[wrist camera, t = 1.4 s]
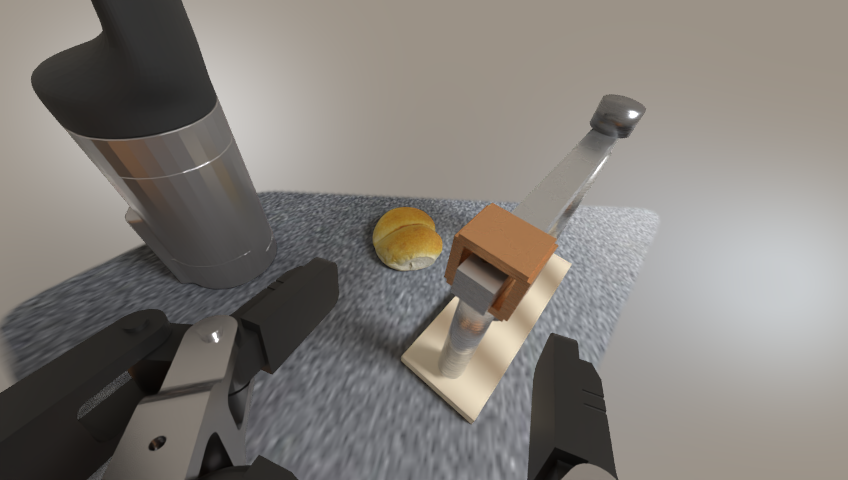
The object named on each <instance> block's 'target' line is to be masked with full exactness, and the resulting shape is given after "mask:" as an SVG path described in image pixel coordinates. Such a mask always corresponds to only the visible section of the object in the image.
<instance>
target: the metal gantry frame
mask: <svg viewBox="0 0 848 480" xmlns="http://www.w3.org/2000/svg"><path fill="white" fill-rule="evenodd" d="M645 110H646V108H645V107H644V106H643V105H642V104H641V103H639V102H637V101H635V100H633V99H631V98H628V97H624V96H620V95H606V96H603V98H602V100H601V102H600V103H599V105H598V107H597V109H596V111H595V113H594V115H593V117H592V119H591V121H590V125H591V127H592V128H593V129H592V130H591V131H590V132H589V133H588V134H587V135H586V136H585V137H584V138H583V139H582V140H581V141H580V142H579V143H578V144H577V145H576V146H575V148H573V149H572V151H571V152H570V153H569V154H568V155H567V156H566V157H565V158H564V159H563V160H562V161H561V162H560V163H559V164H558V165H557V166H556V167H555V168H554V169H553V170H552V171H551V172H550V173H549V174H548V175H547V176H546V177H545V179H543V180H542V181H541V182H540V183H539V185H538V186H537V187H536V188H535V189H534V190H533V191H532V192H531V193H530V194H529V195H528V196H527V197H526V198H525V199H524V200H523V201H522V202H521V203H520V204H519V205H518V206H517V207H516V208H515V209H514V210H513V211H512V212H511V214H513V215H515V216H517V217H519V218H520V219H522V220H524V221H526V222H527V223H529V224H531V225H533V226H535V227H536V228H538V229H540V230H542V231H544V232H545V233H547V234H549V235H551V236H553V237H554V238H556V239H557V240H558V238H559V237H560V235H561V233H562V232H563V230H564V229H565V227H566V225H567V224H568V222H569V221H570V219H571V218H572V216H573V214H574V213H575V211H576V210H577V208H578V206H579V205H580V203H581V202H582V200H583V199H584V197H585V195H586V194H587V192H588V191H589V189H590V187H591V186H592V184H593V183H594V181H595V180H596V178H597V176H598V175H599V173H600V172H601V170H602V168H603V167H604V165H605V164H606V162H607V161H608V159H609V157H610V156H611V150H612V149H613V147H614V146H615V144H616V142H617V141H618V139H619V138H627V137H629V136H630V134H631V133H632V131H633V130H634V128H635V126H636V125H637V123H638V122H639V120H640V119H641V117H642V116H643V114H644V113H645ZM557 240H556V241H557ZM555 243H556V242H555ZM512 279H513V278H512V277H510V276H509V275H507V274H506V273H504V272H503V271H501V270H499V269H498V268H496V267H495V266H493V265H492V264H490V263H489V262H487V261H486V260H484V259H483V258H481V257H479V256H478V255H476V254H475V253H472V254H471V255H470V256H469V257H468V258H467V259H466V260H465V261H464V262H463V263H462V264H461V265H460V266H459V267H458V268H457V270H456V274H455V277H454V281H453V284H452V287H451V291H450V292H451V293H452V294H454V295H455V296H456V297H458V298H459V299H460V300H462V301H463V302H464V303H466V304H467V305H469V306H470V307H471V308H473V309H474V310H475V311H477V312H478V313H480V314H481V315H482V316H484V315H485V314H486V312H487V311H488V310H489V308H490V307H491V306H492V305H493V303H494V302H495V301H496V299H497V298H498V297H499V296H500V294H501V293H502V292H503V290H504V289H505V288H506V286H507V285H508V284H509V283H510V281H511V280H512Z"/></svg>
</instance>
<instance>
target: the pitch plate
mask: <svg viewBox="0 0 848 480" xmlns="http://www.w3.org/2000/svg"><path fill="white" fill-rule="evenodd" d="M571 265H572V264H571V263H569V262H567V261H566V260H564V259H562V258H560V257H559V256H557V255H555V254H554V253H553V255H552V256H551V258H550V259H549V261H548V262H547V264H546V265H545V267H544V268H543V270H542V272H541V273H540V275H539V276H538V278H537V279H536V281H535V282H534V284H533V285H532V287H531V288H530V290H529V291H528V293H527V294H526V295H525V297H524V298H523V300H522V301H521V303H520V304H519V305H518V307H517V308H516V310H515V311H514V313H513V314H512V315H511V317H510V318H509V320H508V321H505V320H503V321H502V322H501V321H500V320H499V319H497V318H496V317H494V319H493V321H492V322H491V324H490V326H489V328H488V330H487V331H486V333H485V335H484V337H483V339H482V340H481V342H480V344H479V346H478V348H477V349H476V351H475V353H474V355H473V356H472V358H471V360H470V362H469V364H468V365H467V367H466V369H465V371H464V373H463V374H462V375H461V376H460V377H459V378H456V379H449V378H447V377H445V376H444V375H442V373H441V372H440V370H439V368H438V359H439V357H440V354H441V351H442V348H443V345H444V342H445V339H446V336H447V333H448V331H449V328H450V325H451V322H452V319H453V316H454V313H455V310H456V307H457V305H458V302H459V298H458V297H456V296H455V297H454V298H453V299H452V300H451V302H450V303H449V304H448V305H447V306H446V307H445V308H444V309H443V311H442V312H441V313H440V314H439V315H438V316H437V317H436V318H435V319H434V321H433V322H432V323H431V324H430V325H429V326H428V327H427V328H426V329H425V331H424V332H423V333H422V334H421V335H420V336H419V337H418V338H417V339H416V341H415V342H414V343H413V344H412V345H411V346H410V347H409V348H408V350H407V351H406V352H405V353H404V354H403V355H402V357H401V361H402V362H403V363H404V364H405V365H406V366H407V367H408V368H410V369H411V370H412V371H413V372H414V373H415V374H416V375H417V376H418V377H420V378H421V379H422V380H423V381H424V382H425V383H426V384H427V385H428V386H430V387H431V388H432V389H433V390H434V391H435V392H436V393H437V394H438V395H440V396H441V397H442V398H443V399H444V400H445V401H446V402H447V403H448V404H449V405H451V406H452V407H453V408H454V409H455V410H456V411H457V412H458V413H459V414H461V415H462V416H463V417H464V418H465V419H466V420H467V421H468V422H469V423H471V424H472V423H473V422H474V421H475V419H476V418H477V416H478V414H479V413H480V411H481V410H482V408H483V406H484V405H485V403H486V402H487V400H488V398H489V397H490V395H491V393H492V392H493V390H494V389H495V387H496V385H497V384H498V382H499V381H500V379H501V377H502V376H503V374H504V373H505V371H506V369H507V368H508V366H509V364H510V363H511V361H512V360H513V358H514V356H515V355H516V353H517V352H518V350H519V348H520V347H521V345H522V344H523V342H524V340H525V339H526V337H527V335H528V334H529V332H530V331H531V329H532V327H533V326H534V324H535V323H536V321H537V319H538V318H539V316H540V315H541V313H542V311H543V310H544V308H545V306H546V305H547V303H548V302H549V300H550V298H551V297H552V295H553V294H554V292H555V290H556V289H557V287H558V286H559V284H560V282H561V281H562V279H563V277H564V276H565V274H566V273H567V271H568V269H569V268H570V266H571Z"/></svg>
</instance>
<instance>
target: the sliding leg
mask: <svg viewBox="0 0 848 480" xmlns="http://www.w3.org/2000/svg"><path fill="white" fill-rule="evenodd" d="M556 240H557V239H556V238H554V237H553V236H551V235H549V234H547V233H545V232H544V231H542V230H540V229H538V228H536V227H535V226H533V225H531V224H529V223H527V222H526V221H524V220H522V219H520V218H519V217H517V216H515V215H513V214H511V213H510V212H508V211H506V210H504V209H502V208H501V207H499V206H497V205H495V204H494V203H491V204H490V205H489V206H488V205H487V206H486V207H485V208H484V209H483V210H482V211H481V212H480V213H478V214H477V215H476V216H475V217H474V218H473V219H472V220H471V221H470V222H469V223H468V224H466V225H465V226H464V227H463V228H462V229H461V230H460V231H459V232H458V233H457V234H456V235H455V236H454V240H453V244H452V248H451V252H450V256H449V260H448V264H447V268H446V272H445V276H444V277H445V278H447V281H446V282H447V283H448V284H450V285H451V286H452V284H453V281H454V277H455V274H456V270H457V268H458V267H459V266H460V265H461V264H462V263H463V262H464V261H465V260H466V259H467V258H468V257H469V256H470V255H471V254H472V253H475V254H476V255H478V256H479V257H481V258H483V259H484V260H486V261H487V262H489V263H490V264H492V265H493V266H495V267H496V268H498V269H499V270H501V271H503V272H504V273H506V274H507V275H509V276H510V277H512V278H513V279H512V280H511V281H510V283H509V284H508V285H507V286H506V288H505V289H504V290H503V292H502V293H501V294H500V296H499V297H498V298H497V299H496V301H495V302H494V303H493V305H492V306H491V307H490V308H489V310H488V311H487V312H486V314H485V315H484V316H482V315H481V314H480V313H478V312H477V311H475V310H474V309H473V308H471V307H470V306H469V305H467V304H466V303H464V302H463V301H462V300H460V299H459V302H458V305H457V307H456V310H455V313H454V316H453V319H452V322H451V325H450V328H449V331H448V333H447V336H446V339H445V342H444V345H443V348H442V351H441V354H440V357H439V359H438V368H439V370H440V372H441V373H442V375H444V376H445V377H447V378H449V379H456V378H459V377H460V376H461V375H462V374H463V373H464V371H465V369H466V367H467V365H468V364H469V362H470V360H471V358H472V356H473V355H474V353H475V351H476V349H477V348H478V346H479V344H480V342H481V340H482V339H483V337H484V335H485V333H486V331H487V330H488V328H489V326H490V324H491V322H492V321H493V319H494V317H496V318H497V319H499V320H500V321H501V322H502V321H503V320H505V321H508V320H509V318H510V317H511V315H512V314H513V313H514V311H515V310H516V308H517V307H518V305H519V304H520V303H521V301H522V300H523V298H524V297H525V295H526V294H527V293H528V291H529V290H530V288H531V287H532V285H533V284H534V282H535V281H536V279H537V278H538V276H539V275H540V273H541V272H542V270H543V268H544V267H545V265H546V264H547V262H548V261H549V259H550V258H551V256H552V255H553V253H554V252H555V250H556V248H557V247H558V245H557V244H555V242H556Z"/></svg>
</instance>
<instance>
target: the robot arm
mask: <svg viewBox="0 0 848 480" xmlns="http://www.w3.org/2000/svg"><path fill="white" fill-rule="evenodd" d="M91 1H92V4H93V6H94V8H95V10H96V12H97V15H98V17H99V19H100V22H101V25H102V29H103V31H102V33H101V34H100V35H99V36H97V37H96V38H94V39H93V40H91V41H88V42H85V43H83V44H80V45H77V46H74V47H72V48H69V49H67V50H64V51H62V52H60V53H57V54H56V55H53V56H52V57H50V58H48V59H46V60H45V61H43V62H42V63H41V64H40V65H39V66H38V67H37V68H36V69H35V70H34V71H33V74H32V76H31V83H32V86H33V89H34V91H35V93H36V94H37V96H38V97H39V99H40V100H41V101H42V103H43V104H44V105H45V106H46V108H47V109H48V110H49V111H50V112H51V114H52V115H53V116H54V117H55V118H56V120H58V122H59V123H60V124H61V125H62V126H63V127H64V128H65V130H66V131H67V132H68V133H69V134H70V136H71V137H72V138H73V139H74V140H75V142H76V143H77V144H78V145H79V146H80V148H81V149H82V150H83V151H84V152H85V153H86V155H87V156H88V157H89V158H90V159H91V161H92V162H93V163H94V164H95V165H96V166H97V167H98V169H99V170H100V171H101V172H102V173H103V175H104V176H105V177H106V178H107V179H108V181H109V182H110V183H111V184H112V185H113V186H114V188H115V189H116V190H117V191H118V192H119V194H120V195H121V196H122V197H123V198H124V200H125V201H126V202H127V203H128V205H129V206H130V207H129V209H128V211H127V213H126V215H125V219H126V221H127V223H128V224H129V225H130V226H131V227H132V228H133V229H134V231H136V233H137V234H138V235H139V236H140V237H141V238H142V239H143V241H144V242H145V243H146V244H147V245H148V246H149V247H150V248H151V249H152V251H153V252H154V253H155V254H156V255H157V256H158V257H159V258H160V260H161V261H162V262H163V263H164V264H165V265H166V266H167V267H168V268H169V270H170V271H171V272H172V273H173V274H174V275H175V276H176V277H177V278H178V280H179V281H180V282H181V283H182V284H185V283H196V284H198V285H200V286H202V287H206V288H211V289H225V288H232V287H235V286H239V285H242V284H245V283H247V282H249V281H251V280H253V279H254V278H256V277H258V276H259V275H261V274H262V273H263V272H264V271H265V270H266V269H267V268H268V267H269V266H270V264H271V263H272V262H273V260H274V258H275V256H276V252H277V243H276V240H275V238H274V235H273V231H272V229H271V227H270V225H269V223H268V220H267V218H266V215H265V213H264V210H263V208H262V205H261V203H260V200H259V198H258V195H257V193H256V190H255V188H254V186H253V183H252V181H251V178H250V176H249V173H248V171H247V169H246V166H245V164H244V161H243V159H242V156H241V154H240V151H239V149H238V146H237V144H236V141H235V139H234V136H233V134H232V132H231V129H230V127H229V125H228V122H227V119H226V117H225V114H224V112H223V110H222V107H221V105H220V102H219V100H218V97H217V95H216V93H215V90H214V88H213V85H212V83H211V81H210V78H209V75H208V72H207V69H206V66H205V63H204V60H203V57H202V54H201V51H200V48H199V45H198V42H197V40H196V37H195V34H194V32H193V29H192V26H191V24H190V21H189V19H188V16H187V13H186V11H185V8H184V6H183V3H182V1H181V0H91ZM338 296H339V286H338V270H337V265H336V263H334V262H331V261H328V260H325V259H322V258H319V257H317V258H314V259H313V260H311V261H310V262H309V263H308V264H306V265H305V266H304V267H303V266H299V267H297V268H294V269H292V270H290V271H287V272H286V273H285V274H283V275H282V276H281V277H279V278H278V279H277V280H276V282H273V283H271V284H270V285H269V286H268V287H267V289H266V288H265V289H264V290H262V291H261V292H260V293H258V294H257V295H256V296H255V297H253V298H252V299H251V300H249V301H248V302H247V303H245V304H244V305H243V306H241V307H240V308H239V309H238V310H236V311H235V312H234V313H232V314H231V315H229V316H228V315H215V316H211V317H207V318H205V319H202V320H200V321H199V322H197V323H195V324H194V325H190V324H176V323H169V321H168V319H167V317H166V315H165V313H164V312H163V311H161V310H157V309H147V310H141V311H137V312H134V313H131V314H129V315H127V316H124V317H123V318H121V319H119V320H117V321H116V322H114V323H113V324H111V325H109V326H108V327H106V328H105V329H103V330H101V331H100V332H98V333H96V334H95V335H93V336H92V337H90V338H88V339H87V340H85V341H84V342H82V343H80V344H79V345H77V346H75V347H74V348H72V349H71V350H69V351H67V352H66V353H64V354H63V355H61V356H59V357H58V358H56V359H54V360H53V361H51V362H50V363H48V364H46V365H45V366H43V367H42V368H40V369H38V370H37V371H35V372H33V373H32V374H30V375H29V376H27V377H25V378H24V379H22V380H21V381H19V382H17V383H16V384H14V385H12V386H11V387H9V388H8V389H6V390H4V391H3V392H1V393H0V480H87V479H88V478H89V477H90V476H91V475H92V474H93V473H94V472H96V471H97V470H98V469H99V468H100V467H101V466H102V465H103V464H104V463H105V462H106V461H107V460H108V459H109V458H110V457H112V456H113V457H112V459H111V461H110V463H109V465H108V467H107V469H106V471H105V473H104V475H103V477H102V479H101V480H298V479H297V478H296V477H295V476H294V475H293V473H292V472H290V471H288V470H286V469H285V468H283V467H281V466H279V465H277V464H275V463H273V462H271V461H270V460H268V459H266V458H264V457H262V456H260V455H259V456H258V457H257V458H256V459H255V461H254V462H253V463H252V465H246V446H245V437H246V429H247V424H248V418H249V412H250V406H251V400H252V394H253V388H254V383H255V378H254V376H255V375H256V374H257V373H258V372H259V371H260V370H263V371H265V372H267V373H270V374H273V373H274V372H275V371H276V370H277V369H278V368H279V367H280V366H281V365H282V364H283V362H284V361H285V360H286V359H287V358H288V357H289V356H290V355H291V354H292V353H293V351H294V350H295V349H296V348H297V347H298V346H299V345H300V344H301V343H302V342H303V341H304V339H305V338H306V337H307V336H308V335H309V334H310V333H311V332H312V331H313V330H314V328H315V327H316V326H317V325H318V324H319V323H320V322H321V321H322V320H323V319H324V317H325V316H326V315H327V314H328V313H329V312H330V311H331V310H332V309H333V307H334V306H335V304H336V302H337V300H338ZM126 370H127V371H128V372H129V374H130V376H131V377H132V379H130V380H129V381H128V382H127V383H125V384H124V385H123V386H122V387H120V388H119V389H118V390H116V391H115V392H114V393H113V394H111V395H110V396H109V397H108V398H106V399H105V400H104V401H102V402H101V403H100V404H99V405H97V406H96V407H95V408H94V409H92V410H91V411H90V412H88V413H87V414H86V415H85V416H83V417H82V418H81V419H79V420H78V419H77V413H78V411H79V409H80V407H81V406H82V405H83V404H84V403H85V402H86V401H87V400H88V399H89V398H91V397H92V396H93V395H95V394H96V393H97V392H99V391H100V390H101V389H103V388H104V387H105V386H107V385H108V384H109V383H111V382H112V381H113V380H114V379H116V378H117V377H118V376H120V375H121V374H122V373H124V372H125V371H126ZM603 398H604V394H603V388H602V382H601V379H600V377H599V375H598V374H597V372H596V370H595V368H594V367H593V365H592V363H590V362H587V361H584V360H581V359H579V350H578V343H577V341H576V340H574V339H571V338H567V337H564V336H561V335H558V334H555V333H551V334H550V336H549V338H548V340H547V342H546V344H545V347H544V349H543V351H542V353H541V356H540V358H539V360H538V362H537V365H536V368H535V373H534V378H533V392H532V409H531V426H530V444H529V461H528V478H527V480H618V478H617V474H616V470H615V464H614V457H613V451H612V444H611V439H610V432H609V426H608V420H607V415H606V407H605V401H604V400H603Z"/></svg>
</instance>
